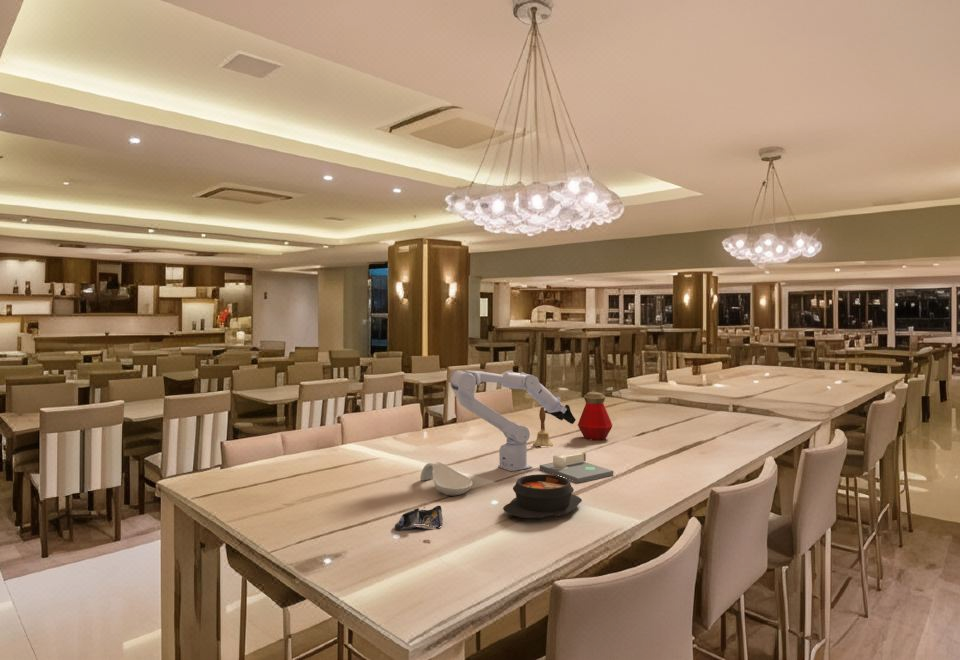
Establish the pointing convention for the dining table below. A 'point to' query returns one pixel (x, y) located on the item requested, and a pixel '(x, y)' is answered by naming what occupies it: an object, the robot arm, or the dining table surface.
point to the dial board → (578, 471)
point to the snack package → (421, 518)
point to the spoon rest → (446, 479)
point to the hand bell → (542, 432)
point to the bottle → (595, 417)
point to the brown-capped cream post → (568, 459)
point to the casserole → (542, 497)
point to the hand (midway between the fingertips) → (568, 420)
